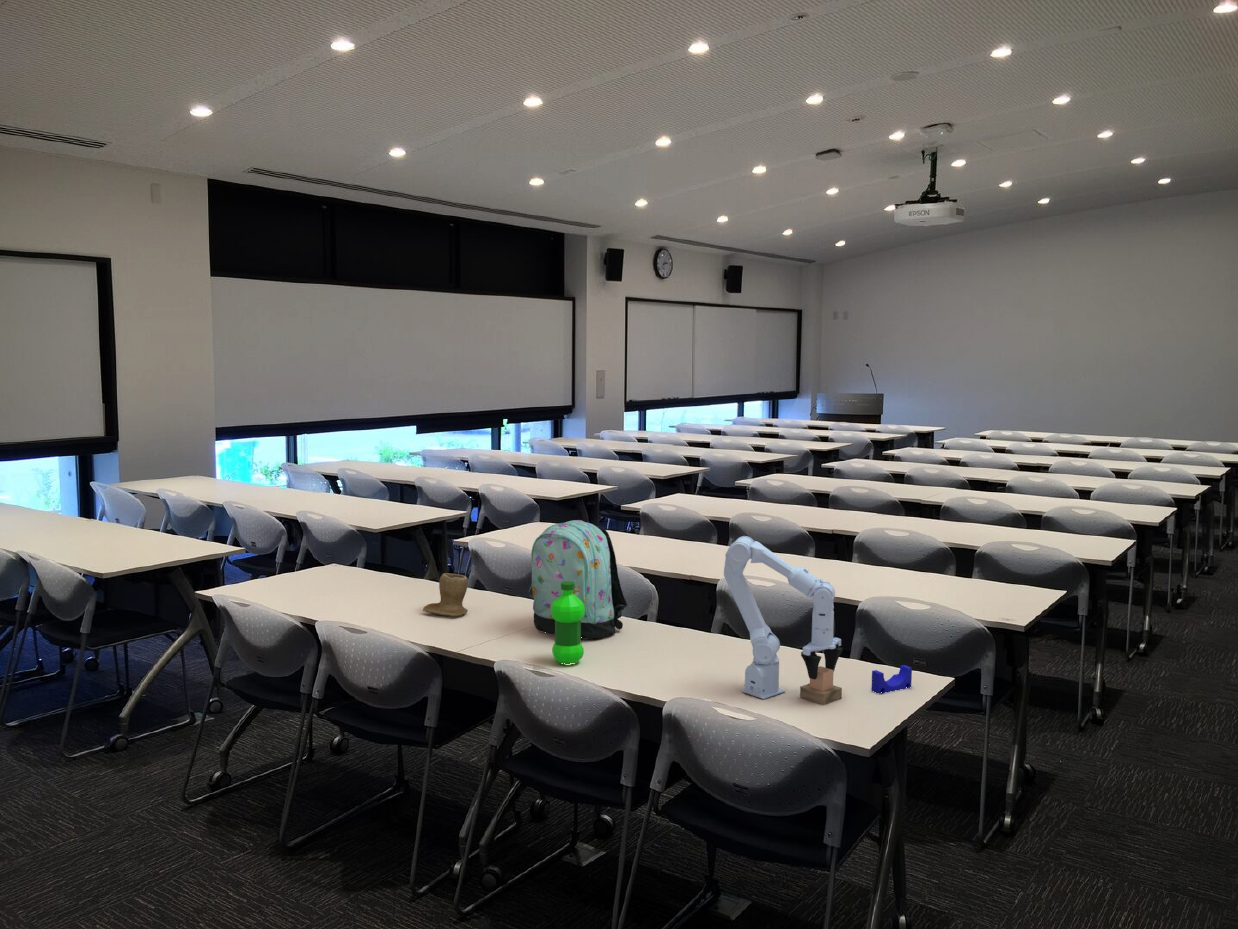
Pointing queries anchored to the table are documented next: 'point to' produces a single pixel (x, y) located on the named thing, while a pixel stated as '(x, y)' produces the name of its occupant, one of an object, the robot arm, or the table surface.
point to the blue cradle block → (892, 680)
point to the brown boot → (450, 595)
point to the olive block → (820, 694)
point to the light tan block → (822, 679)
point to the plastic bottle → (567, 625)
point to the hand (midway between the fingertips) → (821, 675)
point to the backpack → (577, 576)
